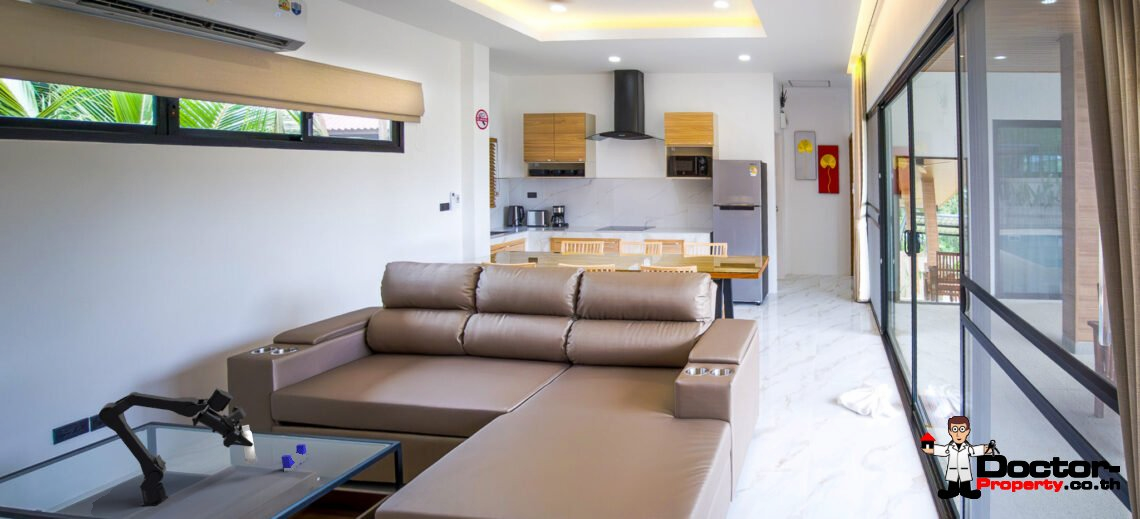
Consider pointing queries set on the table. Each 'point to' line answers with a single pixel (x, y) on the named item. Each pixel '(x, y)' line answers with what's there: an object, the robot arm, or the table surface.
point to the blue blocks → (287, 459)
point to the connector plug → (249, 450)
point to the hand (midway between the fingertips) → (252, 443)
